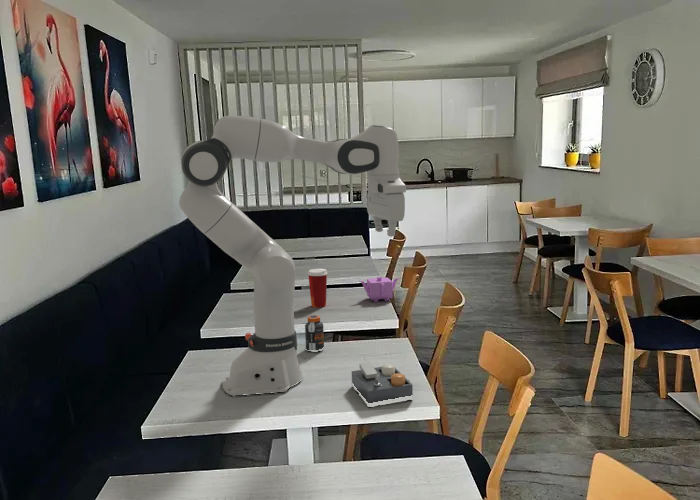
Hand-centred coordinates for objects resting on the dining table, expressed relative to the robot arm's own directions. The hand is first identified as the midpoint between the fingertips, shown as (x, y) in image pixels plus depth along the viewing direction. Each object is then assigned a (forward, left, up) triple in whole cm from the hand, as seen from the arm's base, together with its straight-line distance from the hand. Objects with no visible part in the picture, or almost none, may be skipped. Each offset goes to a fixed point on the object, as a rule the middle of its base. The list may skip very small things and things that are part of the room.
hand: (385, 233), depth 164 cm
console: (-8, -15, -40) cm, 44 cm away
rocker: (-10, -12, -35) cm, 38 cm away
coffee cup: (-2, +74, -41) cm, 84 cm away
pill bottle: (-16, +24, -41) cm, 50 cm away
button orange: (-5, -19, -38) cm, 43 cm away
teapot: (+24, +73, -41) cm, 87 cm away
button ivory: (-5, -12, -38) cm, 41 cm away
